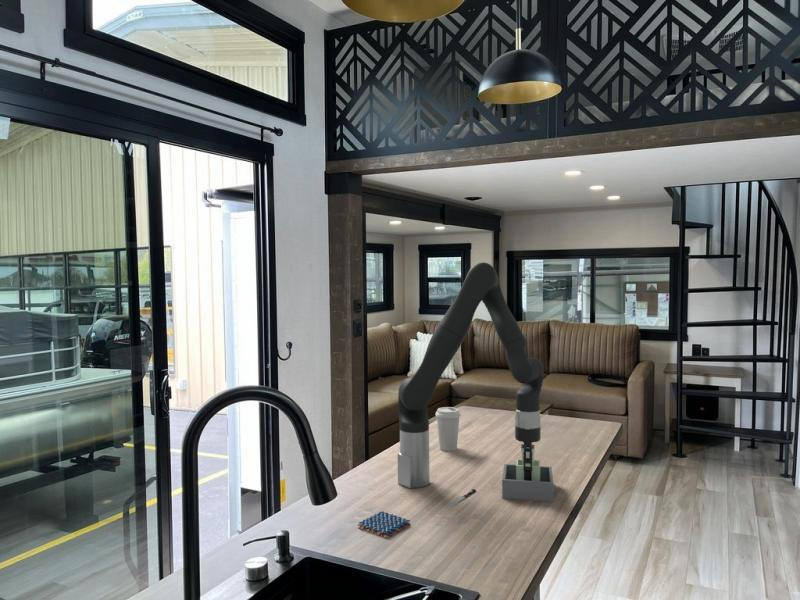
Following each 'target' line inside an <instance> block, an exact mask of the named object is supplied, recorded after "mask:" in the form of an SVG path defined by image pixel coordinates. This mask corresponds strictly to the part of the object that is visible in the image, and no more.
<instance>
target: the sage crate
mask: <svg viewBox="0 0 800 600" xmlns="http://www.w3.org/2000/svg"><path fill="white" fill-rule="evenodd" d="M515 461H516V464H515V465H516V480H524V469H523V468H524V463H523V462H522V458H521V459H516V460H515ZM540 461H541V460H537V459H536V460H535V459H534V462H533V463H532V468H533V470H532V481H539V482H540V466H541V462H540ZM525 466H529V467H530V464H527V463H526V464H525Z"/></svg>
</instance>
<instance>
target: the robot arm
mask: <svg viewBox="0 0 800 600" xmlns="http://www.w3.org/2000/svg"><path fill="white" fill-rule="evenodd" d="M505 299H506V298H505V297H504V294H503V292H502V288H501V284H500V280H499V276H498V272H497V271H496V270H495V268H494V267H493V265H491V264H490V263H488V262H485V261H484V262H479V263H476V264H474V265H473V266H471V268H470V269H469V271H468V272H467V274H466V277H465V278H464V281H463V283H462V285H461V287H460V290H459V292H458V294H457V295H456V297H455V299H454V301H453V302H452V304H451V305H450V307H449V308H448V309H447V311H446V312H445V314H444V316H443V317H442V319H441V320H440V321H439V324H438V326H437V327H436V329H435V330H434V332H433V333H432V335H431V338H430V339H429V342H428V345H427V347H426V351H425V354H424V357H423V359H422V362H421V363H420V366H419V367H418V369H417V370H416V371H415V373H414V374H413V376H410V377H408V378H405V379H404V380H403V381H401V383H400V384H399V386H398V397H397V398H398V419H399V420H398V421H399V453H397V484H399V485H402V486H404V487H406V488H408V489H413V488H414V489H415V488H424V487H426V486H429V484H430V422H429V415H428V404H429V402H430V400H431V398H432V396H433V394H434V391H435V389H436V387H437V384H438V383H439V381H440V379H441V377H442V375H443V373H444V372H445V370H446V369H447V367H448V366H449V364H451V361H452V360H453V358H454V357H455V355H456V353H457V352H458V351H459V349H460V347H461V345H462V343H464V341H465V339H466V337H467V335H468V334H469V333H468V332H469V331H470V328H471V324H472V321H473V319H474V316H475V313H476V310H477V309H478V307H479V305H480V304H481V302H482V303H483V304H484V307H485V308H486V310H487V312H488V314H489V316H490V318H491V321H492V324H493V326H494V329H495V332H496V334H497V337H498V339H499V340H500V343H501V345H502V347H503V349H504V351H505V354H506V359H507V363H508V368H509V372H510V373H511V376H512V377H513V379H514V380H515V381H516V382H518V383H519V384H521V387H520V388H519V389H518V390H517V392H516V394H515V414H514V433H515V434H514V437H515V438H514V439H515V440H516V441H518V442H523V444H521V447H520V451H521V459H522V462H523V463H524V468H523V469H524V480H525V481H532V470H533V468H532V463H533V462H534V460H535V459H534V457H535V456H534V455H535V444H533V443H537V442H540V440H541V430H542V427H541V424H542V423H541V412H540V411H541V410H540V409H541V407H540V404H541V403H540V394H541V391H542V387H543V382H544V376H545V375H544V372H545V371H544V367H543V364H542V362H541V361H540V360H539V359H538V358H536V357H527V353H526V351H525V350H526V349H527V348H528V342H527V340H526V338H525V335H524V334H523V332H522V330H521V328H520V325H519V324H518V322H517V320H516V318H515V317H514V315H513V313H512V312H511V310H510V307H509V306H508V304H507V302H506V300H505ZM526 463H527V464H530V467H529V466H525V464H526Z"/></svg>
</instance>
